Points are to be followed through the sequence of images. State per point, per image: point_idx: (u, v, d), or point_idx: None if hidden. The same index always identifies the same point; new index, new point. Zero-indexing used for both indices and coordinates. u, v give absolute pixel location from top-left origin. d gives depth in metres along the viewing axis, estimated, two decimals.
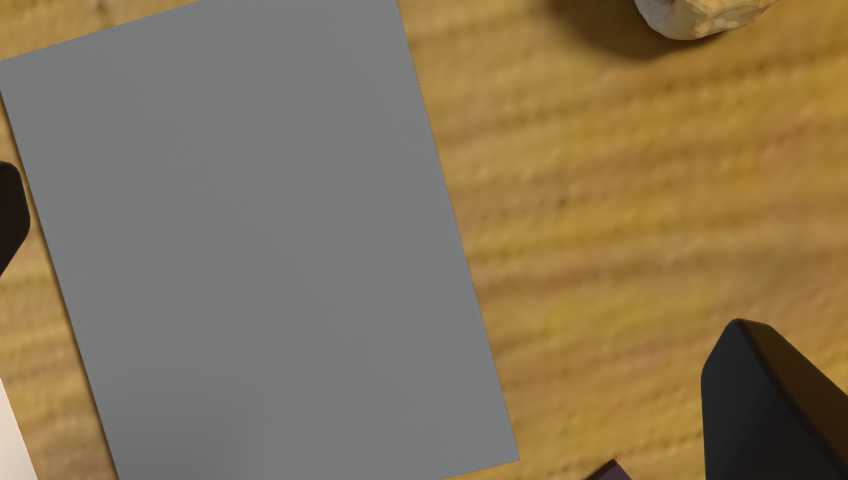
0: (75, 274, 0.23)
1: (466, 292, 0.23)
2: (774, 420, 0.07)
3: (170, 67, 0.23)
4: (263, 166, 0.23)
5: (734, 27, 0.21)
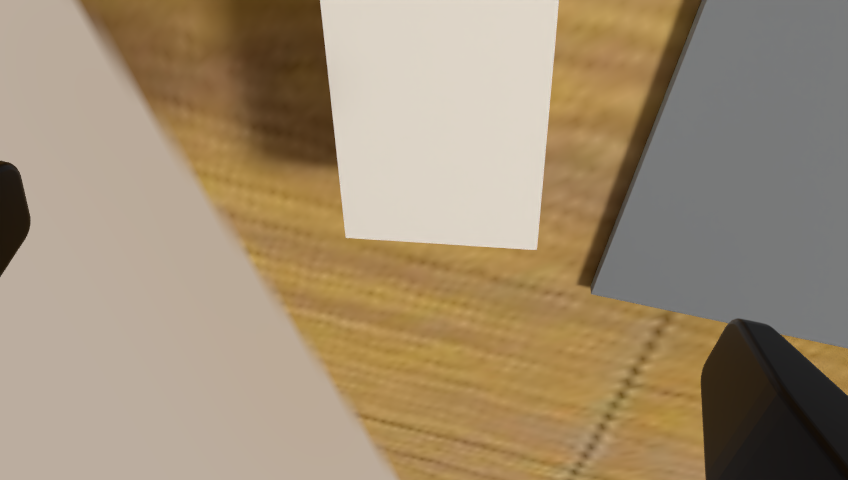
0: None
1: None
2: (774, 420, 0.07)
3: None
4: None
5: None
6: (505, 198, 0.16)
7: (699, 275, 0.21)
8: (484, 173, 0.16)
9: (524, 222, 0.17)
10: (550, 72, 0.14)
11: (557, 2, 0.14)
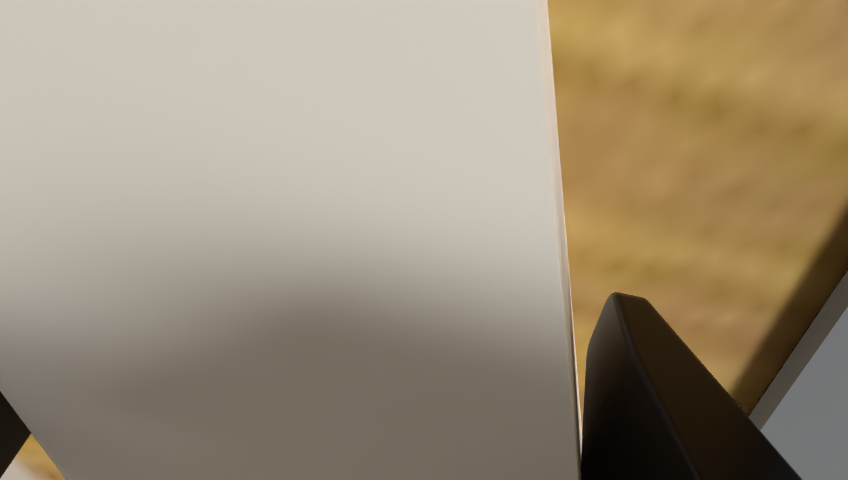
0: None
1: None
2: (627, 388, 0.07)
3: None
4: None
5: None
6: None
7: None
8: None
9: None
10: None
11: (563, 358, 0.05)
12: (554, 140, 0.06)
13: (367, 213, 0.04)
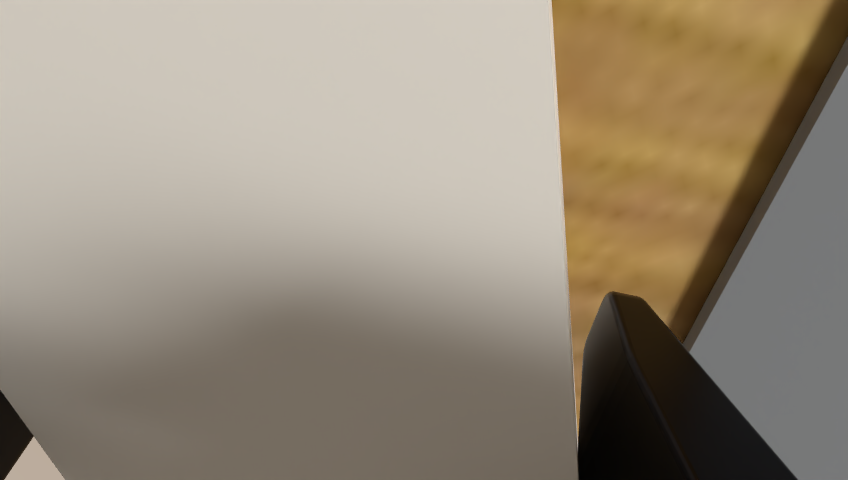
0: None
1: None
2: (623, 387, 0.07)
3: None
4: None
5: None
6: None
7: None
8: None
9: None
10: None
11: (567, 361, 0.05)
12: None
13: (374, 215, 0.04)
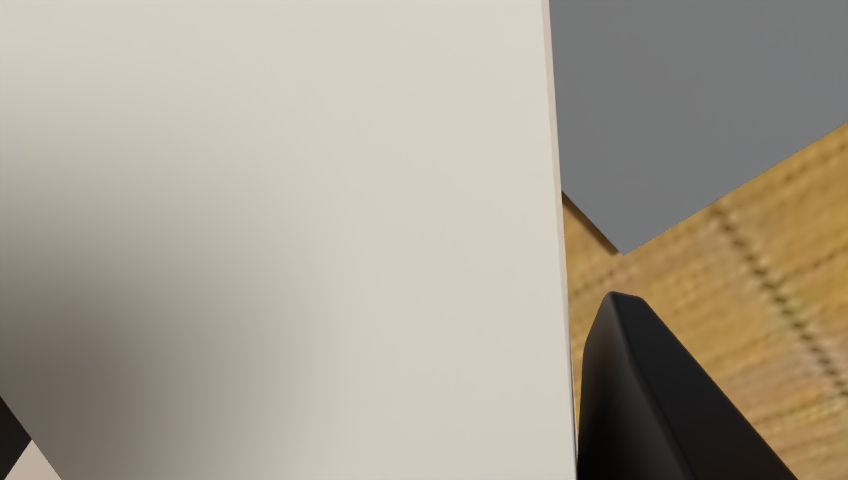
0: None
1: None
2: (623, 387, 0.07)
3: None
4: None
5: None
6: None
7: (679, 165, 0.18)
8: None
9: None
10: None
11: (563, 361, 0.05)
12: (555, 142, 0.06)
13: (368, 215, 0.04)
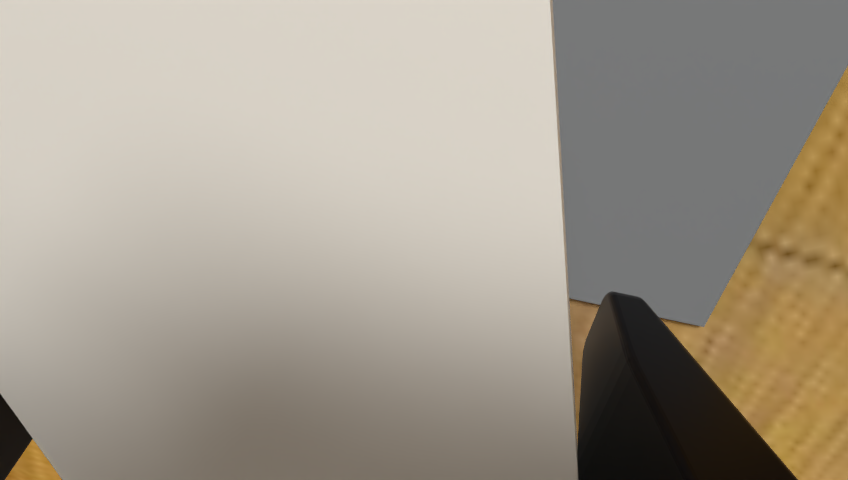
0: None
1: None
2: (623, 387, 0.07)
3: None
4: None
5: None
6: None
7: (689, 236, 0.18)
8: None
9: None
10: None
11: (567, 361, 0.05)
12: (559, 142, 0.06)
13: (372, 211, 0.04)
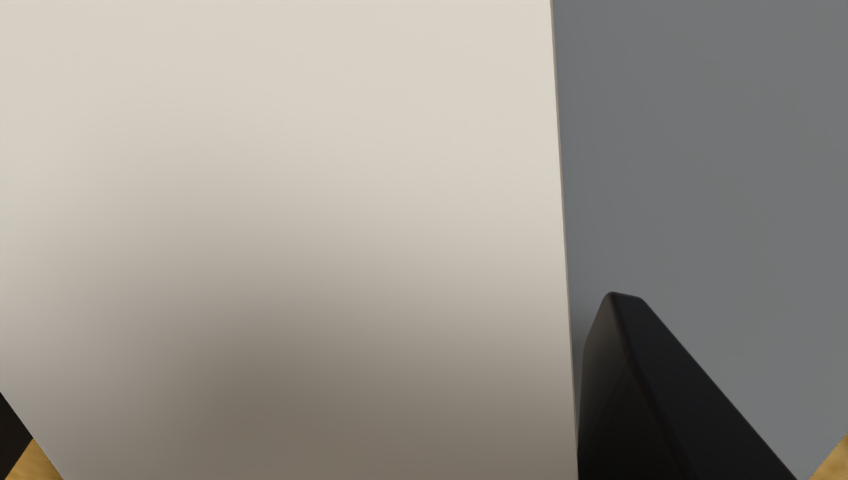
0: None
1: None
2: (622, 387, 0.07)
3: None
4: None
5: None
6: None
7: None
8: None
9: None
10: None
11: (567, 360, 0.05)
12: (559, 141, 0.06)
13: (372, 211, 0.04)
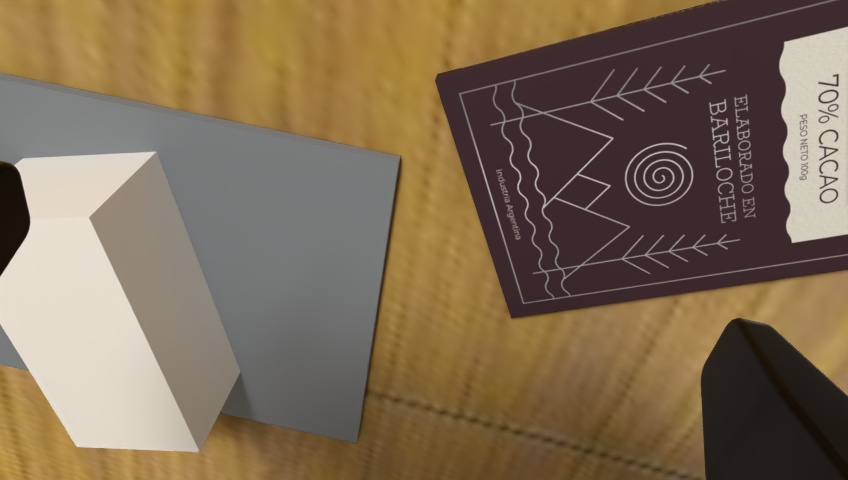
0: None
1: (207, 130, 0.21)
2: (773, 420, 0.07)
3: None
4: None
5: None
6: (164, 423, 0.23)
7: (325, 390, 0.27)
8: (144, 410, 0.23)
9: (183, 436, 0.24)
10: (153, 356, 0.21)
11: (138, 322, 0.21)
12: (156, 265, 0.22)
13: (86, 288, 0.20)
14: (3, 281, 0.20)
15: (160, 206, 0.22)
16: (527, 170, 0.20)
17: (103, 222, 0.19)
